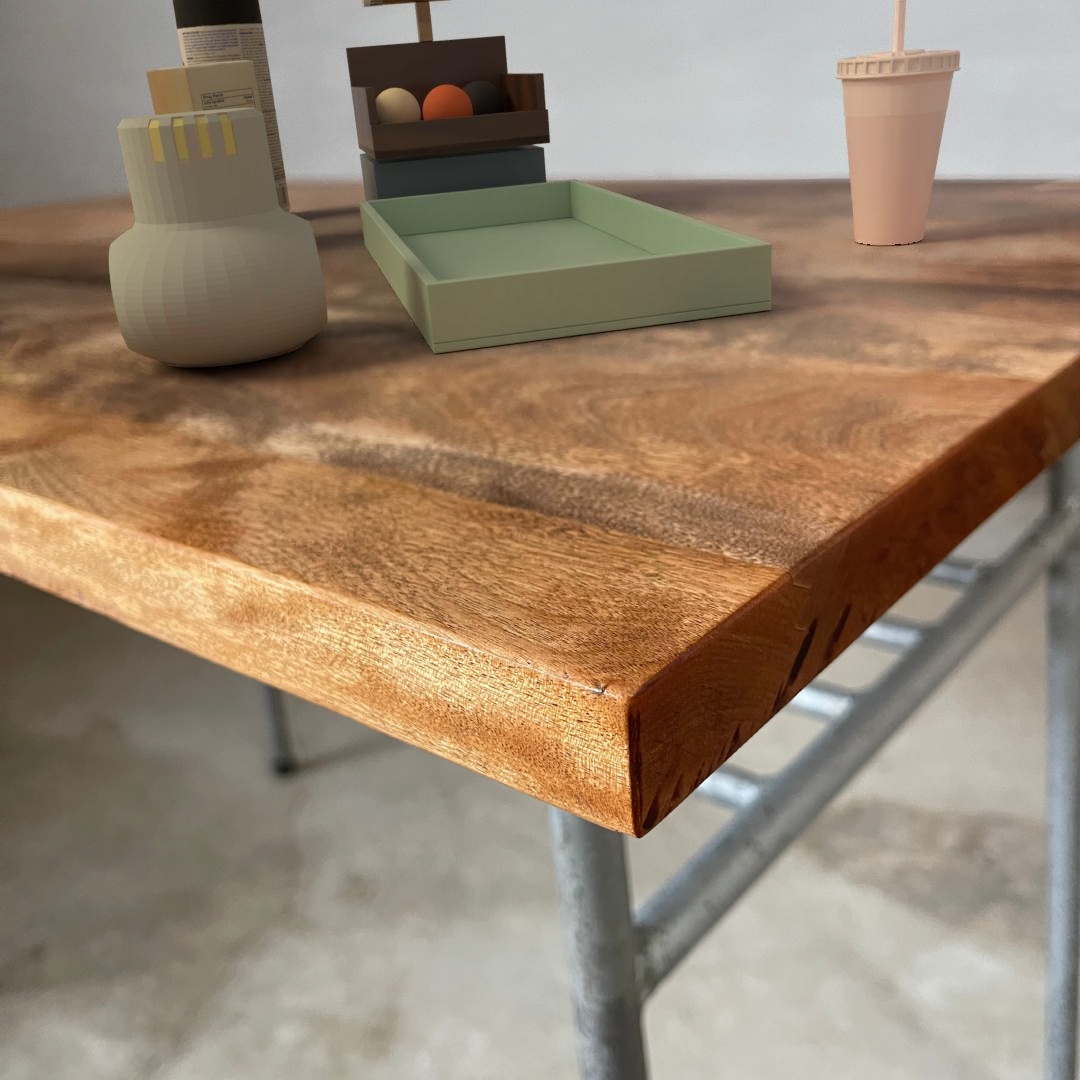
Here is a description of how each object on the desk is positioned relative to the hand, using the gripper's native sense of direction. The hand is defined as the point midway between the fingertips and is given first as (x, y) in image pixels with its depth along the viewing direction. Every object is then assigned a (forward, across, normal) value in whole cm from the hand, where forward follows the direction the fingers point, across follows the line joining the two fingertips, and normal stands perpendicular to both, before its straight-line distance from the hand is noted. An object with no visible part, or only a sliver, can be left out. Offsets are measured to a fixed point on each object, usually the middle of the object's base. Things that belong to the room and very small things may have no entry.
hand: (421, 3), depth 84 cm
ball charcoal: (+7, -3, +3) cm, 9 cm away
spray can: (+15, +15, -8) cm, 23 cm away
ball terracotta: (+7, 0, +7) cm, 10 cm away
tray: (+15, 0, +30) cm, 34 cm away
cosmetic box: (+15, +16, +8) cm, 24 cm away
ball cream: (+8, +3, +3) cm, 9 cm away
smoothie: (+15, -20, +34) cm, 42 cm away
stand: (+15, 0, +5) cm, 16 cm away
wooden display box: (+10, 0, +6) cm, 12 cm away
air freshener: (+15, +16, +42) cm, 47 cm away
